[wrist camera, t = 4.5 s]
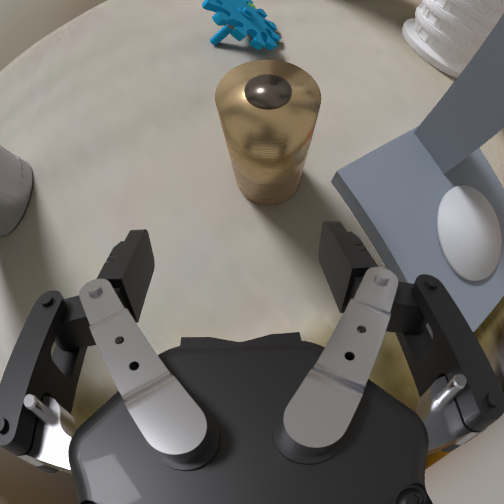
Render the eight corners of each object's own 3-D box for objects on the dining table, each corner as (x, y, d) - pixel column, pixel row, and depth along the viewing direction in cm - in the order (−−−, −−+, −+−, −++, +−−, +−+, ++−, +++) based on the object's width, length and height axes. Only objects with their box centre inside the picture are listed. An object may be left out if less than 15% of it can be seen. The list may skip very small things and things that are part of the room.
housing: (257, 217, 21) (249, 151, 11) (224, 166, 22) (196, 82, 12) (312, 185, 21) (343, 105, 11) (277, 138, 22) (281, 46, 12)
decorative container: (388, 35, 24) (427, -69, 6) (415, 17, 25) (448, -62, 7) (462, 91, 22) (530, 2, 5) (476, 63, 23) (526, -7, 5)
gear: (285, 59, 22) (199, 0, 15) (243, 89, 26) (162, 42, 19) (283, 16, 25) (220, -29, 18) (251, 40, 29) (189, 2, 23)
